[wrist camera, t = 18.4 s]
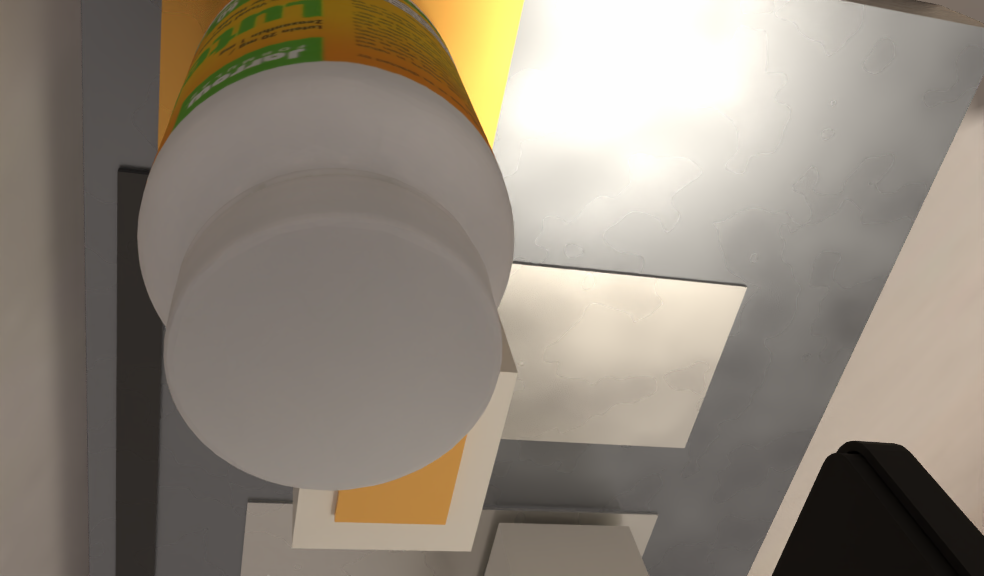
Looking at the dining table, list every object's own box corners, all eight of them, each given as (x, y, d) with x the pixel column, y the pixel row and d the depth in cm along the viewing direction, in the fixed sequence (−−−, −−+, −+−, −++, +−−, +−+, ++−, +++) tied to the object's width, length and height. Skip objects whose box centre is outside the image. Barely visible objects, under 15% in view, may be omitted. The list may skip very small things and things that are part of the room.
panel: (941, 5, 23) (1012, 35, 21) (638, 703, 37) (660, 770, 34) (105, -159, 18) (75, -145, 16) (107, 717, 32) (90, 796, 29)
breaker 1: (485, 274, 22) (519, 378, 18) (448, 437, 24) (472, 558, 20) (315, 258, 21) (316, 364, 17) (294, 429, 23) (291, 555, 19)
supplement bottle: (307, -101, 17) (302, 45, 9) (507, 85, 19) (650, 336, 11) (137, 108, 18) (-6, 403, 10) (344, 257, 21) (363, 590, 13)
